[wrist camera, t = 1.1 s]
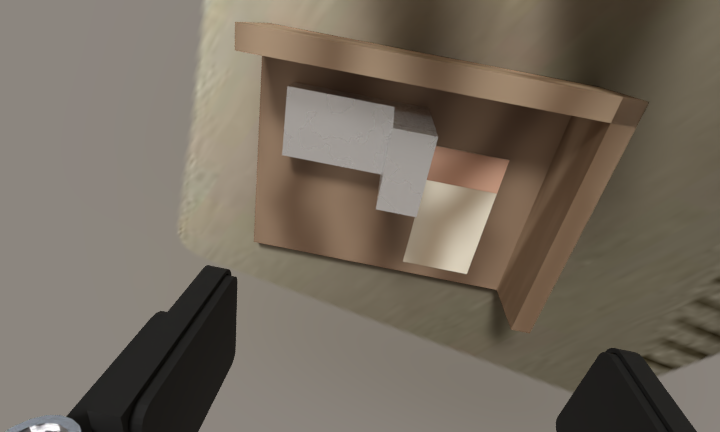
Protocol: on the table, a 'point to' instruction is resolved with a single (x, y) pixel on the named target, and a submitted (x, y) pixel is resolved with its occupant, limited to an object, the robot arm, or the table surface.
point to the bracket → (363, 140)
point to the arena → (442, 165)
